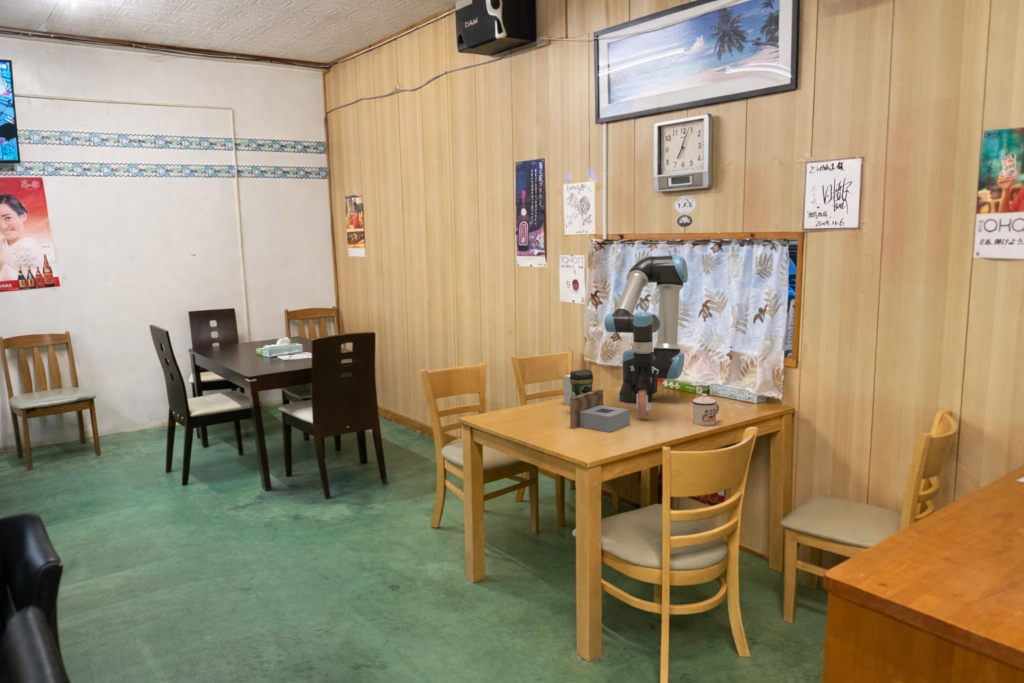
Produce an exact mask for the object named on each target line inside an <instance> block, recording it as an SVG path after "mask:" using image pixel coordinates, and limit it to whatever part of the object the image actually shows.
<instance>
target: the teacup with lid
mask: <svg viewBox="0 0 1024 683" xmlns="http://www.w3.org/2000/svg"><path fill="white" fill-rule="evenodd" d="M719 412H720V405H719V403H717V399H714V398H712V397H710V396H708V394H707V393H702V394H701V396H699V397H696V398H693V400H692V423H693V424H694V425H698V426H703V427H707V426H709V427H710V426H713V425H716V422H717V415H718V414H719Z"/></svg>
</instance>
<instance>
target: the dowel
mask: <svg viewBox="0 0 1024 683" xmlns="http://www.w3.org/2000/svg"><path fill="white" fill-rule="evenodd" d="M638 392H639V410H638V416H639V417H640V418H641V417H642V418H647V417H649V416H650V414H649V413H650V410H649V411H646V395H647V390H639V391H638Z"/></svg>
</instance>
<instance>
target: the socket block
mask: <svg viewBox="0 0 1024 683" xmlns="http://www.w3.org/2000/svg"><path fill="white" fill-rule="evenodd" d="M630 422H631V410H630V409H629V408H628V409H627V408H621V407H620V408H619V407H616V406H608V405H603V406H602V405H599V406H596V407H593V408H590V409H587V410H584V411H581V412H580V427H579V428H584V429H587V430H588V429H589V430H594V431H600V432H606V433H613V432H615V431H618V430H620V429H622V428H625V427H627V426H630V425H631V423H630Z"/></svg>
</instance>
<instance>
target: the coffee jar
mask: <svg viewBox="0 0 1024 683" xmlns="http://www.w3.org/2000/svg"><path fill="white" fill-rule="evenodd" d="M569 375H570V382H571V386H572V395H571V398H572V397H575V396H578V395H581V394H585V393H588V392H591V391H593V383H594V376H593V372H592V370H589V369H578V370H572V371H571V370H570V374H569Z"/></svg>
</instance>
